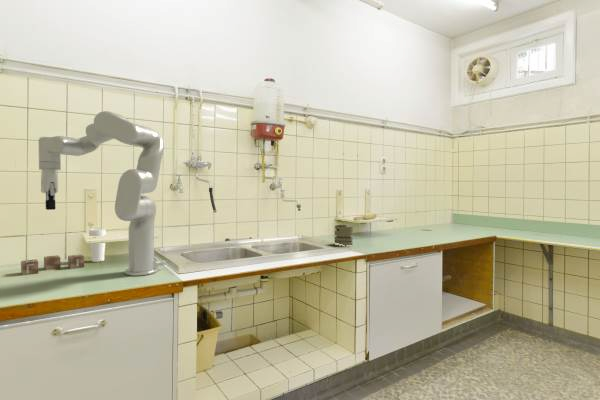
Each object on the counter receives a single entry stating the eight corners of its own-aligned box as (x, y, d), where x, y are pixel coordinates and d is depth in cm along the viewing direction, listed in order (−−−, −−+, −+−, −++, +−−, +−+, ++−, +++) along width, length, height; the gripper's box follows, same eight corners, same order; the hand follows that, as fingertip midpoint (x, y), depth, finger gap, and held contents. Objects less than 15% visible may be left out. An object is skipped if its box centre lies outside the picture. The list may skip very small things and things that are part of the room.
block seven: (36, 271, 143) (36, 259, 142) (38, 273, 139) (38, 261, 139) (21, 273, 139) (21, 260, 139) (22, 275, 136) (22, 262, 135)
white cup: (86, 262, 159) (85, 230, 158) (94, 259, 165) (94, 228, 165) (101, 262, 159) (101, 230, 158) (109, 259, 166) (108, 228, 165)
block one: (81, 265, 154) (81, 254, 153) (84, 267, 150) (84, 255, 150) (68, 267, 150) (68, 255, 150) (70, 269, 147) (70, 257, 146)
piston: (343, 227, 208) (330, 225, 217) (342, 247, 209) (330, 244, 218) (356, 226, 215) (344, 224, 224) (356, 245, 215) (343, 242, 224)
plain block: (58, 266, 151) (58, 255, 151) (60, 268, 147) (60, 257, 147) (44, 268, 148) (43, 256, 147) (46, 270, 144) (45, 258, 144)
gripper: (36, 166, 150) (37, 208, 151) (41, 165, 139) (42, 210, 140) (57, 167, 155) (57, 208, 156) (63, 166, 144) (64, 210, 145)
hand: (50, 209), depth 148 cm, fingers closed
